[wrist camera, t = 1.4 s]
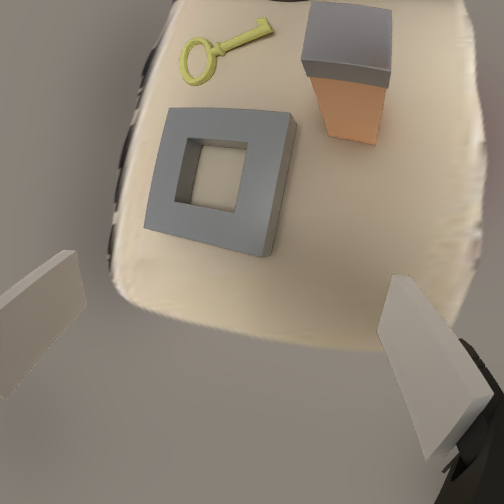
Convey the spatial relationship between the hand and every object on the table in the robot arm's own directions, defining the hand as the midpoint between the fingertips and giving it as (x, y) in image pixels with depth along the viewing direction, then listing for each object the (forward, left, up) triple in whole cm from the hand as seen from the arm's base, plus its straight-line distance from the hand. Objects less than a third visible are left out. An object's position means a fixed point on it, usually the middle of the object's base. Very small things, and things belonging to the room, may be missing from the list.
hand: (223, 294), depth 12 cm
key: (-22, -13, -18) cm, 31 cm away
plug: (-14, +3, -17) cm, 23 cm away
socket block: (-6, -9, -17) cm, 21 cm away
